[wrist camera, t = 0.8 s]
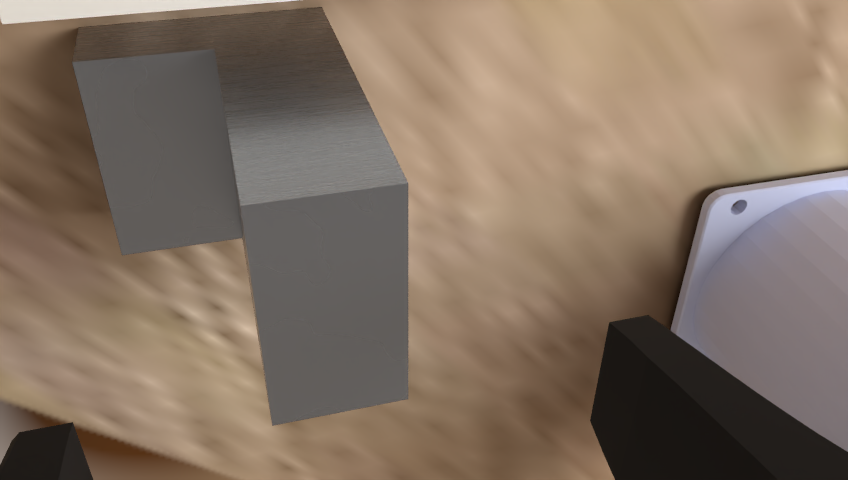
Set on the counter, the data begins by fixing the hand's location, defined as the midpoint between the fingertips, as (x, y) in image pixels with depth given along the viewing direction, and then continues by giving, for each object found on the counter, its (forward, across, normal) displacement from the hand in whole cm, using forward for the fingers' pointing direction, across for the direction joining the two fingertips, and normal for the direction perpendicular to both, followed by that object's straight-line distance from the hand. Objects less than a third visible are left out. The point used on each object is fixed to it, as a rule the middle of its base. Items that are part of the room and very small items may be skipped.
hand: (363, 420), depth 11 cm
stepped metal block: (+10, +1, 0) cm, 10 cm away
